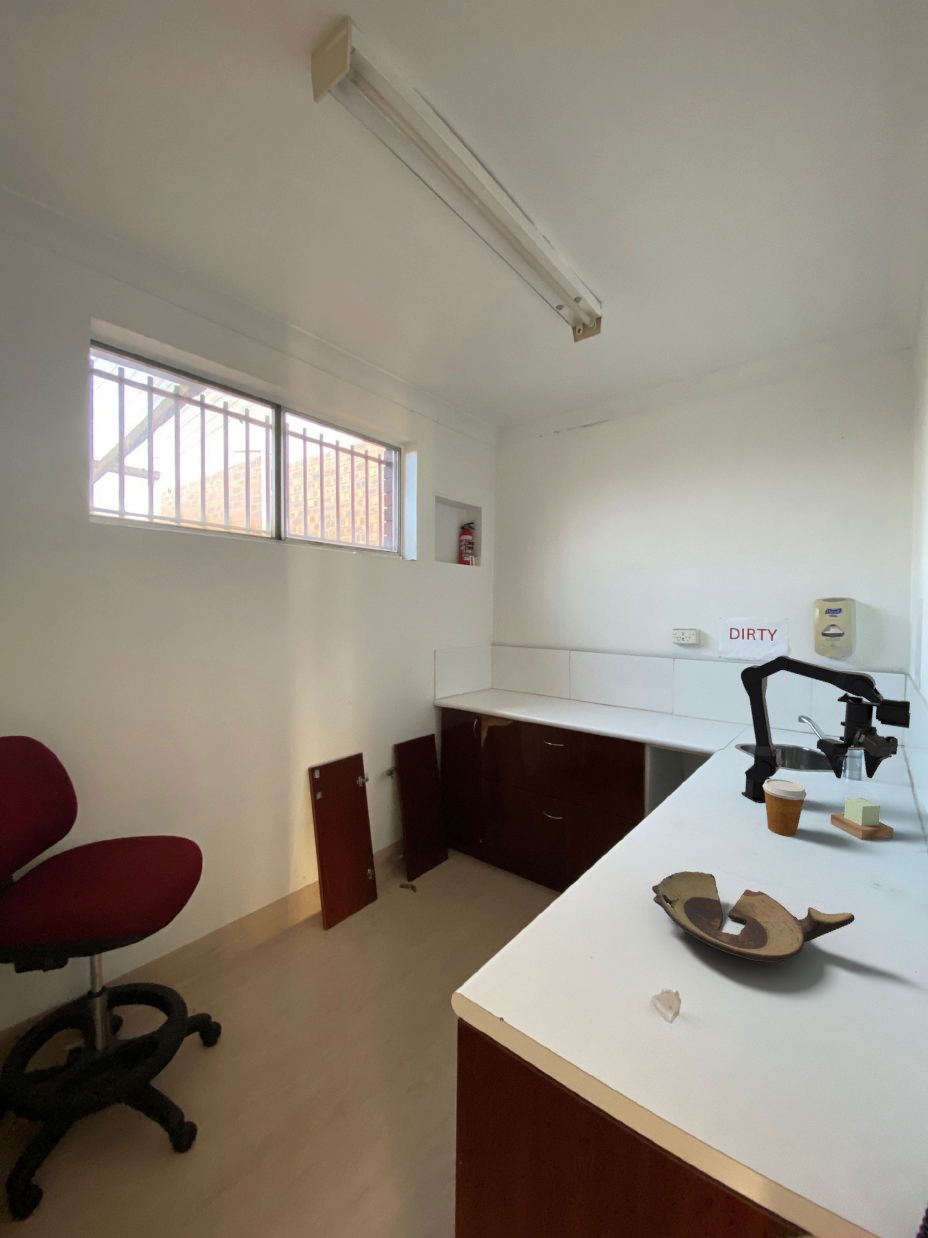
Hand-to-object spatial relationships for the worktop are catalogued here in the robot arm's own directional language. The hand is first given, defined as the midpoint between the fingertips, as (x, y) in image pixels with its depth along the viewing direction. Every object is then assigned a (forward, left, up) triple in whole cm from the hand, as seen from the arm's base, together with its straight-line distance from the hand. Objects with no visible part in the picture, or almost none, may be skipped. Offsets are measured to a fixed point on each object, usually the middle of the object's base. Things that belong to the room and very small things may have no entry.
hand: (854, 778), depth 136 cm
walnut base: (-2, -5, -12) cm, 13 cm away
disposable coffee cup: (-23, -3, -12) cm, 26 cm away
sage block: (-2, -5, -10) cm, 11 cm away
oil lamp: (-62, -40, -12) cm, 75 cm away
